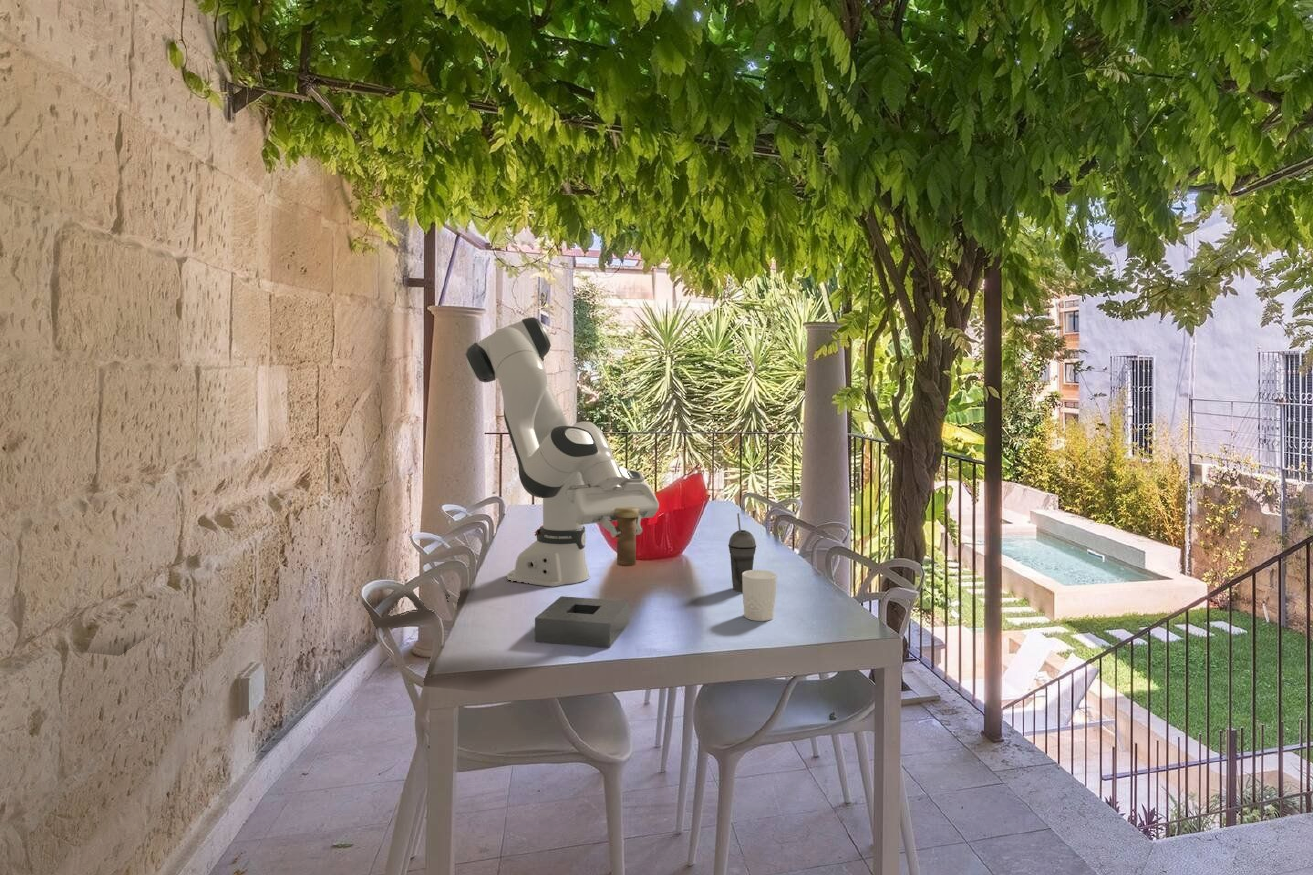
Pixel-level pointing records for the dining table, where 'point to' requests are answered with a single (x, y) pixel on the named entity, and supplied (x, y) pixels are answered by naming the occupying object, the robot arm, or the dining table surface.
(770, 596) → the white cup
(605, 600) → the hitch block
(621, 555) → the brass pin
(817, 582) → the dining table surface
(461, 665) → the dining table surface
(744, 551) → the beverage cup
